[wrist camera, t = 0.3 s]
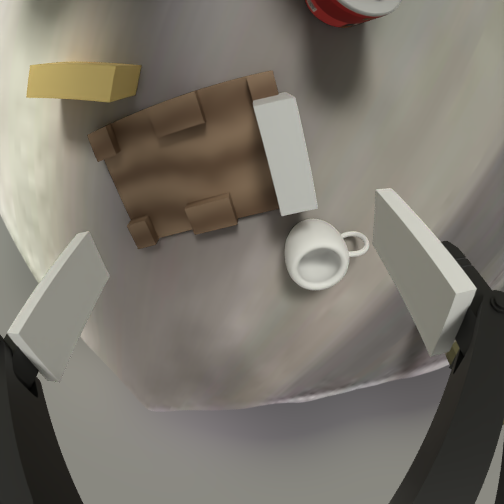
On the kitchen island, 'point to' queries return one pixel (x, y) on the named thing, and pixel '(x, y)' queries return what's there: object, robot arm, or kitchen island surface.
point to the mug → (318, 254)
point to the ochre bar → (83, 81)
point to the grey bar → (286, 152)
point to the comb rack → (191, 160)
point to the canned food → (350, 10)
